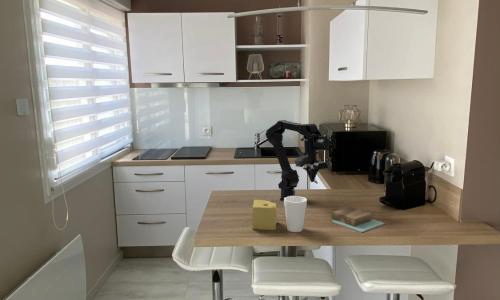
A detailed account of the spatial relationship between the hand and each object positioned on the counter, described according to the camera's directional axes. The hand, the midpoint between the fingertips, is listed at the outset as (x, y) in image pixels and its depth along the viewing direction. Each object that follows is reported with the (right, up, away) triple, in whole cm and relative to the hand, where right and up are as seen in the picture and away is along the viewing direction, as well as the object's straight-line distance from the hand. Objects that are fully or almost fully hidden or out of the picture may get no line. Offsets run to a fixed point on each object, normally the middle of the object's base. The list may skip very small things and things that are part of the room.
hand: (312, 181), depth 192 cm
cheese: (-24, -17, -23) cm, 37 cm away
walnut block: (+11, -13, -13) cm, 21 cm away
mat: (+17, -16, -19) cm, 30 cm away
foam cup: (-11, -18, -27) cm, 34 cm away
